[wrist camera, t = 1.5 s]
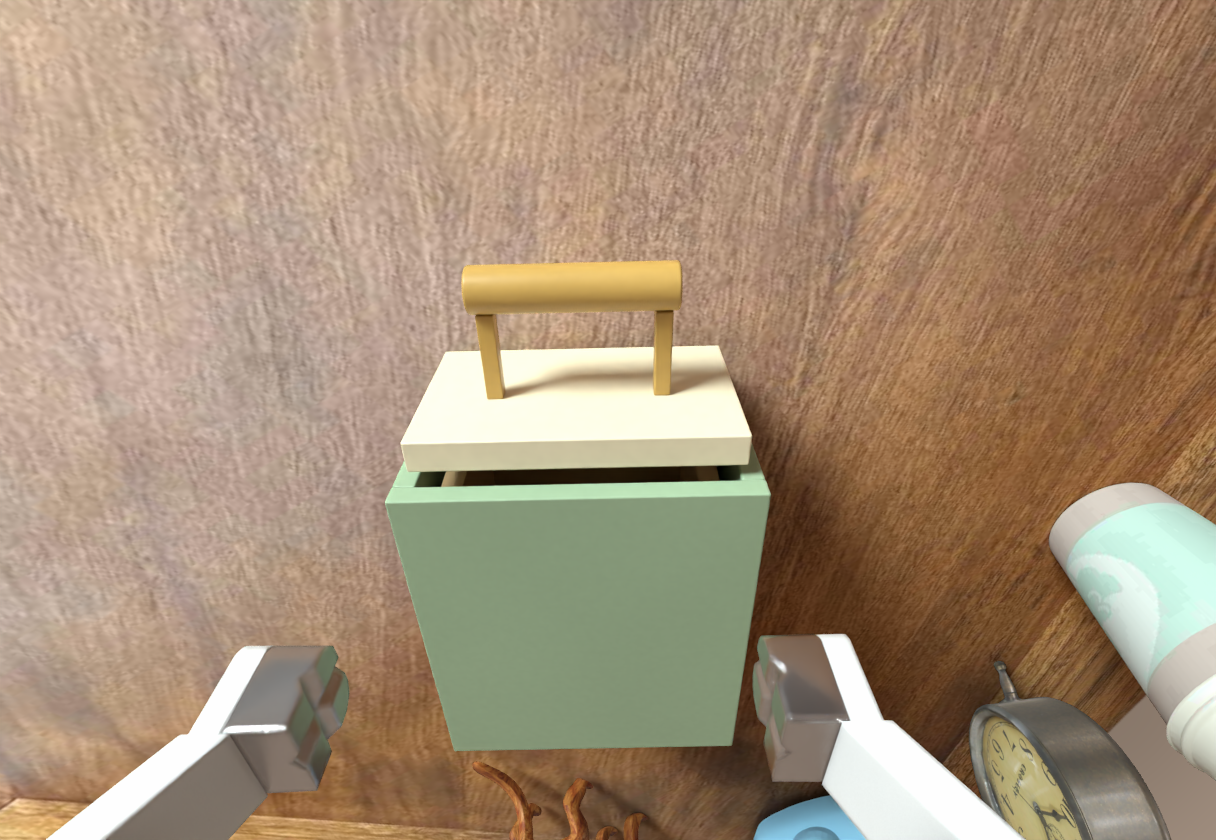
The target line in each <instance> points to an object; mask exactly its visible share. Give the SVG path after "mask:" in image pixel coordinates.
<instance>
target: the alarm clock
mask: <svg viewBox="0 0 1216 840" xmlns="http://www.w3.org/2000/svg"><path fill="white" fill-rule="evenodd" d="M994 667H995V669H996V670H997V671H998V672H999V679H1000V685H1001V688H1002V690H1003V693H1004V696H1005V698H1004V699H1003V700H1002V701H1001V702H999V703H997V704H986V705H983V706H981V707H979V708H978V709H977V710H976V711H975V713H974V715H973V717H972V719H971V723H970V729H969V746H970V755H971V761H972V766H973V769H974V774H975V778H976V782H977V786H978V789H979V792H980V795H981V798H982V801H983V802H984V803H986V804H987V805H988V806H989V807H990V808H991V809H992V810H993V811H994V812H996V813H997V814H998V815H999V816H1000V817H1001V818H1002V819H1003V820H1005V821H1006V822H1007V823H1008V824H1009V825H1010V826H1011V827H1012V828H1013V829H1015V830H1016V831H1017V832H1018V833H1019V834H1020V835H1021V836H1022V837H1024V838H1025V839H1026V840H1171V838H1170V834H1169V831H1168V829H1167V826H1166V823H1165V821H1164V819H1163V817H1162V814H1161V812H1160V810H1159V808H1158V806H1157V804H1156V802H1155V800H1154V798H1153V796H1152V794H1151V792H1150V790H1149V789H1148V787H1147V785H1146V783H1145V782H1144V780H1143V778H1142V777H1141V775H1140V774H1139V772H1138V771H1137V769H1136V768H1135V766H1134V765H1133V764H1132V762H1131V761H1130V759H1129V758H1128V757H1127V756H1126V754H1125V753H1124V752H1123V750H1122V749H1121V748H1120V747H1119V746H1118V744H1117V743H1116V742H1115V741H1114V740H1113V739H1112V738H1111V736H1110V735H1109V734H1108V733H1107V732H1106V731H1105V730H1104V729H1103V728H1102V727H1100V726H1099V725H1098V724H1097V723H1096V722H1095V721H1094V720H1092V719H1091V718H1090V717H1089V716H1087V715H1086V714H1085V713H1083V712H1082V711H1080V710H1078V709H1077V708H1075V707H1073V706H1072V705H1070V704H1067V703H1065V702H1063V701H1060V700H1057V699H1054V698H1049V697H1037V698H1030V699H1020V698H1019V696H1018V695H1017V692H1016V689H1015V687H1014V685H1013V683H1012V681H1011V679H1010V678H1009V676H1008V674H1007V673H1006V668H1007V667H1006V665H1005V663H1004V662H1002V661H997V662H995V663H994Z"/></svg>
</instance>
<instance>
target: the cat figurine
mask: <svg viewBox="0 0 1216 840" xmlns="http://www.w3.org/2000/svg"><path fill="white" fill-rule="evenodd" d="M473 769H474V770H475V771H476V772H477V773H479V774H481V775H483V776H484V777H486V778H488V779H490V780H492V781H494V782H495V783H497V784H498V785H499V786H500V787H501V788H502V789H503V790H505V792H506V793H507V794H508V795H509V797H510V798H511V800H512V801H513V803H514V805H515V809H516V812H517V818H518V820H517V822H516V823H515V824H514V826H513V828H512V830H511V832H510V840H534V839H533V828H532V818H533V816H539V815H540V814H541V808H540V807H539V806H537V805H536V804H533V803H530V804H529V805H528V803H527V800H526V798H525V795H524V794H523V792H522V790H521V788H520V787H519V786H518V785H517V784H516V782H515V781H514V780H513V779H511V778H510V777H509V776H508V775H506V774H505V773H503V772H501V771H499V770H497V769H495V768H493V767H491V766H489V765H486V764H484V763H482V762H477V761H476V762H474V763H473ZM586 788H587V789H591V788H593V785H592V784H591V783H589V782H588V781H586V780H583V779H580V778H577V779H576V780H575V782H574V784H573V785H572V786H571V787H570V788H569V789H568V790H567V793H566V795H565V797H564V800H563V805H564V809H565V812H566V814H567V817H568V820H569V824H570V829H571V834H570V835H569V836H568V837H566V838H564V839H561V840H589V830H588V825H587V822H586V820H585V818H584V816H583V815H582V813H581V811H580V809H579V807H580V803H581V801H582V799H583V797H584V795H585V792H586ZM647 819H648V818H647V816H646V815H644V814H642V813H634V814H632V815H630V816H628V817H627V818H626V821H625V825H624V840H638V828H639V825H640V822H642V821H645V820H647ZM615 834H617V829H616V828H614V827H610V826H608V827H604V828H602V829H600V830H599V831H598V833H597V835H596V839H595V840H608V839H609V836H613V835H615Z"/></svg>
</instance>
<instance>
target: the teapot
mask: <svg viewBox="0 0 1216 840" xmlns="http://www.w3.org/2000/svg"><path fill="white" fill-rule="evenodd" d="M753 840H866V839H865V838H864V836H863V835H862V834H861V833H860V831H859V830H858V829H857V828H856V826H855V825H854V824H853V823H852V821H851V820H850V819H849V818H848V816H847V815H846V814H845V813H844V812H843V810H842V809H841V808H840V807H839V805H838V804H837V803H836V802H835V800H834V799H833V798H832V797H831V795H829V796H824V797H819V798H815V799H811V800H808V801H804V802H801V803H798V804H795V805H793V806H790V807H788V808H786V809H783V810H781V811H779V812H777V813H775V814H773V815H771V816H769V817H768V818H766V819H764V820H763V821H762V822H761V823H760V824H759V825H758V828H757V831H756V833H755V836H754V839H753Z"/></svg>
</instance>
